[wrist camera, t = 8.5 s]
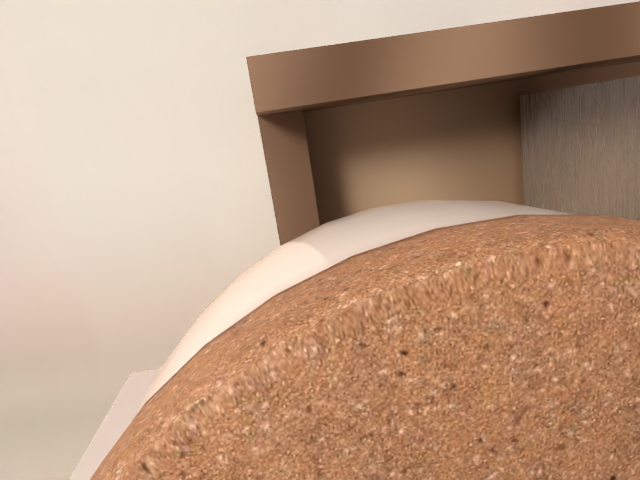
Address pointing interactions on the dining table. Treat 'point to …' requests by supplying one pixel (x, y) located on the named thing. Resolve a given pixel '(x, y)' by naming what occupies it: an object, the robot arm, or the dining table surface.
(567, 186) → the pusher
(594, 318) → the lidded jar
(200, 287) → the dining table surface
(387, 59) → the wooden tray
